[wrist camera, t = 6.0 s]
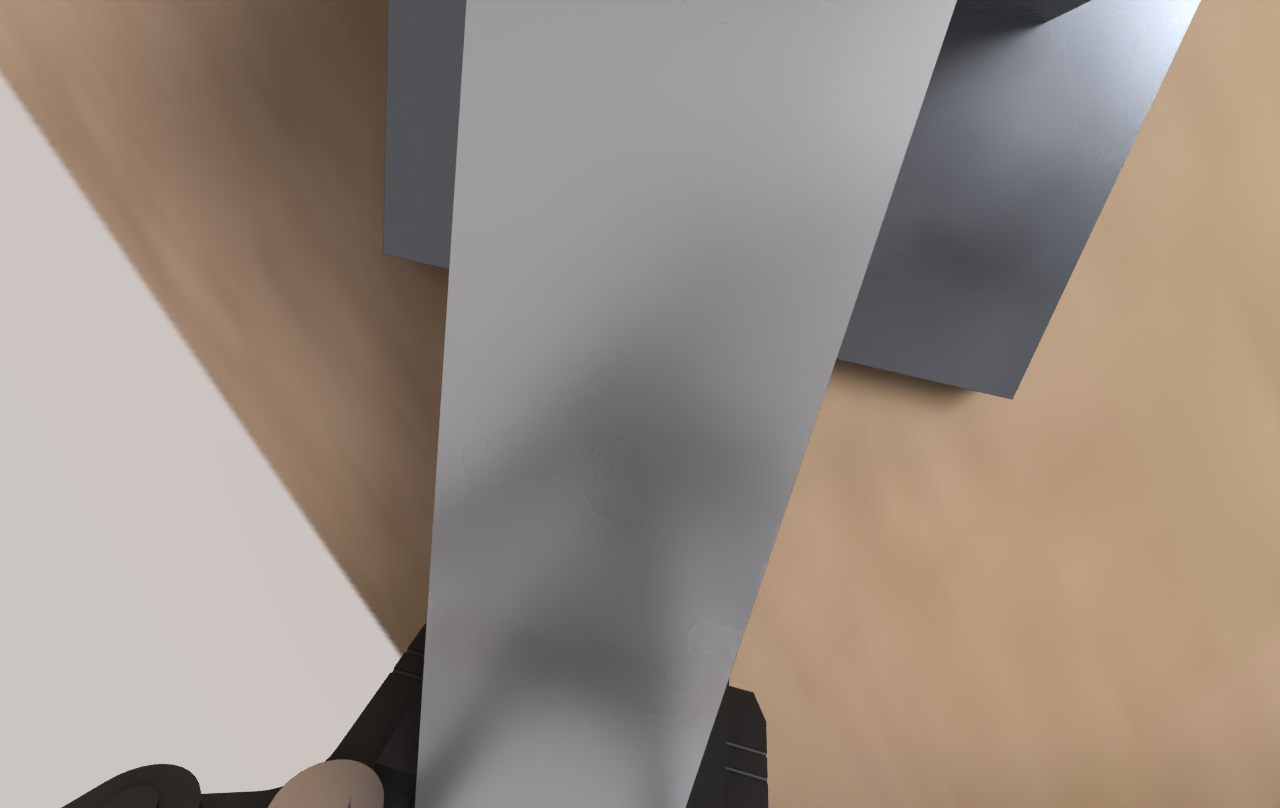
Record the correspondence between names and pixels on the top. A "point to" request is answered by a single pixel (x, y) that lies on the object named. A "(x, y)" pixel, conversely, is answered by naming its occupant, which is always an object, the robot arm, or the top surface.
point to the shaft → (638, 365)
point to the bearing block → (927, 181)
